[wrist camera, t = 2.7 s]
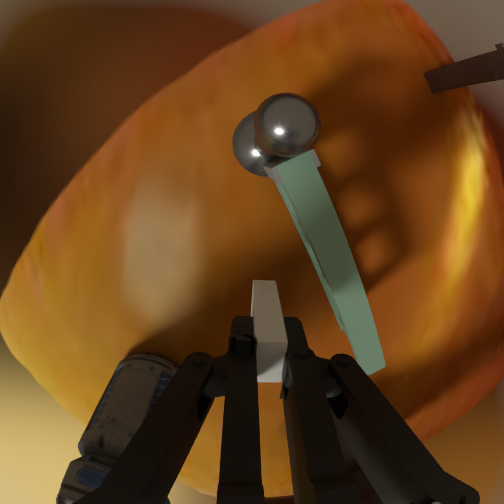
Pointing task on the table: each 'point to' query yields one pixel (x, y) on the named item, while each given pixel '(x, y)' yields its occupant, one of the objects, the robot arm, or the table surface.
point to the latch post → (468, 71)
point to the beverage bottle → (115, 422)
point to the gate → (328, 252)
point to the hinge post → (276, 131)
